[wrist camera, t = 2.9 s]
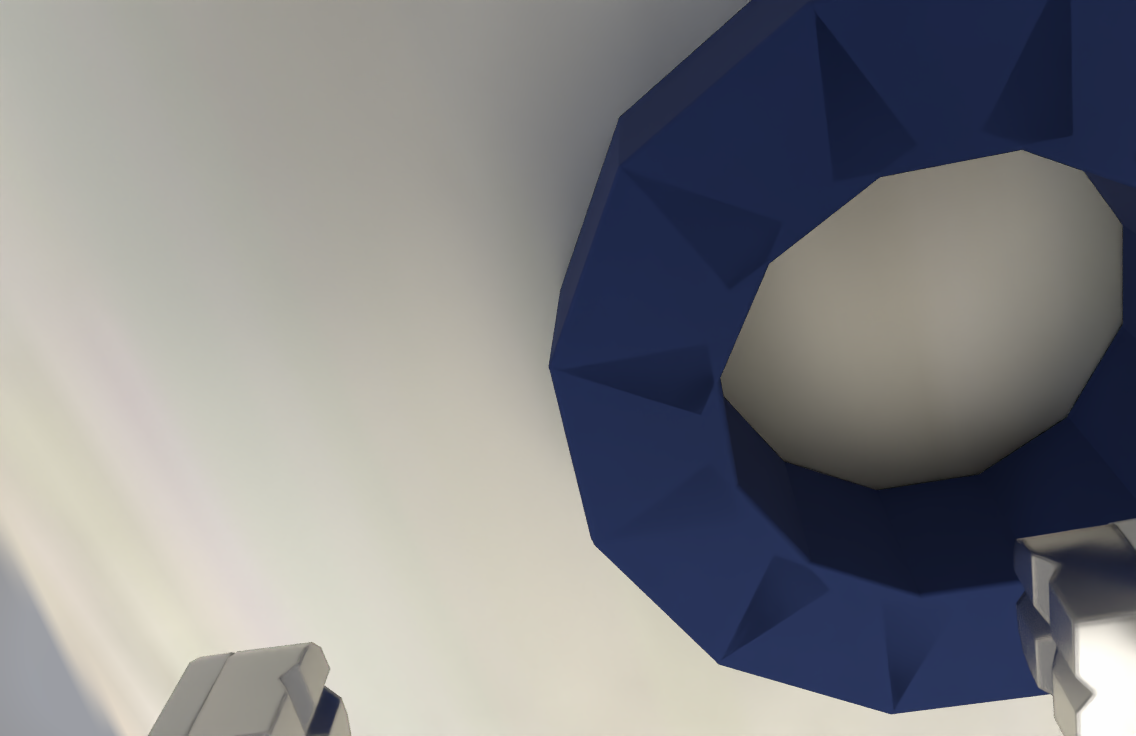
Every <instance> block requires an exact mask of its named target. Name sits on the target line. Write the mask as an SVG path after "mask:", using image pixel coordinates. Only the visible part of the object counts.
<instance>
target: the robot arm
mask: <svg viewBox="0 0 1136 736" xmlns="http://www.w3.org/2000/svg"><path fill="white" fill-rule="evenodd" d="M1013 560H1014V571H1015V573H1016V575H1017V577H1018V578H1019V580H1020V582H1021V584H1022V586H1023V587H1024V589H1025V591H1024V593H1023V594H1022V595H1021V597H1020V598H1019V600H1018V601H1017V602H1016V612H1017V623H1018V631H1019V635H1020V640H1021V644H1022V649H1023V653H1024V656H1025V658H1026V661H1027V664H1028V666H1029V669H1030V672H1031V674H1032V676H1033V678H1034V680H1035V682H1036V684H1037V686H1038V688H1040V689H1042V690H1044V691H1045V692H1047V693H1049V694H1051V695H1052V696H1053V708H1054V718H1055V720H1056V722H1057V724H1058V726H1059V728H1060V730H1061V731H1062V733H1063V735H1064V736H1136V518H1134V519H1128V520H1123V521H1117V522H1112V523H1109V524H1108V525H1101V526H1095V527H1089V528H1082V529H1076V530H1070V531H1063V532H1057V533H1051V534H1044V535H1038V536H1031V537H1025V538H1019V539H1015V543H1014V549H1013ZM329 671H330V667H329V665H328V662H327V660H326V658H325V655H324V653H323V651H322V648H321V647H320V646H318V645H316V644H314V643H313V642H309V643H301V644H293V645H285V646H277V647H269V648H261V649H253V650H245V651H238V652H236V653H232V652H230V653H224V654H217V655H210V656H203V657H199V658H197V659H195V660H193V661H192V662H190V663H189V665H188V666H187V668H186V670H185V672H184V673H183V675H182V677H181V679H180V680H179V682H178V684H177V686H176V687H175V689H174V691H173V693H172V694H171V696H170V698H169V700H168V701H167V703H166V705H165V707H164V708H163V710H162V712H161V714H160V715H159V717H158V719H157V721H156V722H155V724H154V726H153V728H152V729H151V731H150V733H149V735H148V736H351V731H350V725H349V720H348V714H347V712H346V709H345V706H344V703H343V701H342V698H341V697H340V696H338V695H337V694H335V693H334V692H333V691H331V690H330V689H329V688H327V687H326V686H324V685H325V682H326V679H327V676H328V674H329Z"/></svg>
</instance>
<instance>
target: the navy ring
mask: <svg viewBox="0 0 1136 736" xmlns="http://www.w3.org/2000/svg"><path fill="white" fill-rule="evenodd" d="M1018 150H1024V151H1027V152H1030V153H1033V154H1035V155H1038V156H1041V157H1044V158H1047V159H1050V160H1053V161H1056V162H1059V163H1062V164H1064V165H1067V166H1070V167H1073V168H1076V169H1079V170H1082V171H1084V172H1085V174H1086V175H1087V176H1088V178H1089V179H1090V180H1091V182H1092V183H1093V185H1094V186H1095V187H1096V189H1097V190H1098V192H1099V193H1100V194H1101V196H1102V197H1103V199H1104V200H1105V201H1106V203H1107V204H1108V205H1109V207H1110V208H1111V210H1112V211H1113V212H1114V214H1115V215H1116V217H1117V218H1118V219H1119V221H1120V222H1121V223H1122V225H1123V324H1122V326H1121V327H1120V329H1119V331H1118V332H1117V334H1116V336H1115V337H1114V339H1113V341H1112V342H1111V344H1110V346H1109V347H1108V349H1107V351H1106V352H1105V354H1104V356H1103V357H1102V359H1101V361H1100V362H1099V364H1098V366H1097V367H1096V369H1095V371H1094V372H1093V374H1092V376H1091V377H1090V379H1089V381H1088V382H1087V384H1086V386H1085V388H1084V389H1083V391H1082V393H1081V394H1080V396H1079V398H1078V399H1077V401H1076V403H1075V404H1074V406H1073V408H1072V409H1071V411H1070V413H1069V414H1068V416H1067V417H1066V418H1065V419H1063V420H1062V421H1060V422H1059V423H1057V424H1056V425H1054V426H1053V427H1051V428H1050V429H1048V430H1047V431H1045V432H1043V433H1042V434H1040V435H1039V436H1037V437H1036V438H1034V439H1033V440H1031V441H1030V442H1028V443H1027V444H1025V445H1023V446H1022V447H1020V448H1019V449H1017V450H1016V451H1014V452H1013V453H1011V454H1010V455H1008V456H1007V457H1005V458H1003V459H1002V460H1000V461H999V462H997V463H996V464H994V465H993V466H991V467H990V468H988V469H987V470H985V471H984V472H982V473H980V474H978V475H972V476H965V477H959V478H953V479H946V480H940V481H933V482H927V483H920V484H914V485H907V486H901V487H894V488H888V489H881V490H875V489H871V488H868V487H865V486H862V485H858V484H855V483H852V482H849V481H845V480H842V479H839V478H836V477H832V476H829V475H826V474H823V473H820V472H816V471H813V470H810V469H807V468H803V467H800V466H797V465H794V464H790V463H787V462H784V461H783V460H782V459H781V458H780V457H779V456H778V455H777V454H776V453H775V451H774V450H773V449H772V448H771V447H770V446H769V445H768V444H767V443H766V442H765V441H764V440H763V439H762V437H761V436H760V435H759V434H758V433H757V432H756V431H755V430H754V429H753V428H752V427H751V426H750V425H749V424H748V422H747V421H746V420H745V419H744V418H743V417H742V416H741V415H740V414H739V413H738V412H737V411H736V410H735V408H734V407H733V406H732V405H731V404H730V403H729V402H728V401H727V400H726V399H725V398H724V397H723V391H722V385H721V379H720V377H721V375H722V373H723V370H724V368H725V366H726V363H727V361H728V359H729V356H730V354H731V352H732V349H733V347H734V345H735V342H736V340H737V338H738V335H739V333H740V331H741V328H742V326H743V324H744V321H745V319H746V317H747V314H748V312H749V310H750V307H751V305H752V303H753V300H754V298H755V296H756V293H757V291H758V289H759V286H760V284H761V282H762V279H763V277H764V275H765V272H766V270H767V268H768V265H769V263H771V262H772V261H773V260H775V259H776V258H777V257H778V256H780V255H781V254H782V253H784V252H785V251H786V250H787V249H789V248H790V247H791V246H793V245H794V244H795V243H796V242H798V241H799V240H800V239H801V238H803V237H804V236H805V235H807V234H808V233H809V232H810V231H812V230H813V229H814V228H816V227H817V226H818V225H819V224H821V223H822V222H823V221H825V220H826V219H827V218H828V217H830V216H831V215H832V214H833V213H835V212H836V211H837V210H839V209H840V208H841V207H842V206H844V205H845V204H846V203H848V202H849V201H850V200H851V199H853V198H854V197H855V196H857V195H858V194H859V193H860V192H862V191H863V190H864V189H865V188H867V187H868V186H869V185H871V184H872V183H873V182H874V181H876V180H877V179H878V178H880V177H883V176H889V175H894V174H899V173H904V172H909V171H915V170H920V169H925V168H930V167H935V166H941V165H946V164H951V163H956V162H961V161H966V160H972V159H977V158H982V157H987V156H992V155H998V154H1003V153H1008V152H1013V151H1018ZM549 369H550V373H551V377H552V381H553V385H554V389H555V393H556V398H557V402H558V406H559V410H560V414H561V418H562V422H563V426H564V430H565V434H566V438H567V442H568V446H569V450H570V455H571V459H572V463H573V467H574V471H575V475H576V479H577V483H578V487H579V491H580V495H581V499H582V503H583V507H584V512H585V516H586V520H587V524H588V528H589V532H590V536H591V539H592V541H593V543H594V545H595V546H596V547H597V548H598V549H599V550H600V551H601V552H602V553H603V554H604V555H606V556H607V557H608V558H609V559H610V560H611V561H612V562H613V563H614V564H615V565H616V566H617V567H618V568H619V569H620V570H621V571H622V572H623V573H624V574H625V575H626V576H627V577H628V578H629V579H631V580H632V581H633V582H634V583H635V584H636V585H637V586H638V587H639V588H640V589H641V590H642V591H643V592H644V593H645V594H646V595H647V596H648V597H649V598H650V599H651V600H652V601H653V602H655V603H656V604H657V605H658V606H659V607H660V608H661V609H662V610H663V611H664V612H665V613H666V614H667V615H668V616H669V617H670V618H671V619H672V620H673V621H674V622H675V623H676V624H677V625H678V626H680V627H681V628H682V629H683V630H684V631H685V632H686V633H687V634H688V635H689V636H690V637H691V638H692V639H693V640H694V641H695V642H696V643H697V644H698V645H699V646H700V647H701V648H702V649H703V650H705V651H706V652H707V653H708V654H709V655H710V656H711V657H712V658H713V659H714V660H715V661H716V662H717V663H718V664H719V665H723V666H726V667H730V668H733V669H736V670H740V671H743V672H747V673H750V674H754V675H757V676H761V677H764V678H768V679H771V680H775V681H778V682H781V683H785V684H788V685H792V686H795V687H799V688H802V689H806V690H809V691H813V692H816V693H819V694H823V695H826V696H830V697H833V698H837V699H840V700H844V701H847V702H851V703H854V704H857V705H861V706H864V707H868V708H871V709H875V710H878V711H882V712H885V713H889V714H897V713H905V712H913V711H920V710H928V709H936V708H944V707H952V706H960V705H968V704H976V703H984V702H992V701H1000V700H1008V699H1016V698H1023V697H1031V696H1039V695H1047V694H1049V693H1047V692H1045V691H1044V690H1042V689H1040V688H1038V686H1037V684H1036V682H1035V680H1034V678H1033V676H1032V674H1031V672H1030V669H1029V666H1028V664H1027V661H1026V658H1025V656H1024V653H1023V649H1022V644H1021V640H1020V635H1019V631H1018V623H1017V612H1016V602H1017V601H1018V600H1019V598H1020V597H1021V595H1022V594H1023V593H1024V591H1025V589H1024V587H1023V586H1022V584H1021V582H1020V580H1019V578H1018V577H1017V575H1016V573H1015V571H1014V560H1013V549H1014V543H1015V539H1019V538H1025V537H1031V536H1038V535H1044V534H1051V533H1057V532H1063V531H1070V530H1076V529H1082V528H1089V527H1095V526H1101V525H1108V524H1109V523H1112V522H1117V521H1123V520H1128V519H1134V518H1136V0H751V1H750V2H749V3H748V4H747V5H746V6H745V7H743V8H742V9H741V10H740V11H739V12H738V13H737V14H735V15H734V16H733V17H732V18H731V19H730V20H729V21H728V22H726V23H725V24H724V25H723V26H722V27H721V28H720V29H719V30H717V31H716V32H715V33H714V34H713V35H712V36H711V37H710V38H708V39H707V40H706V41H705V42H704V43H703V44H702V45H701V46H699V47H698V48H697V49H696V50H695V51H694V52H693V53H691V54H690V55H689V56H688V57H687V58H686V59H685V60H684V61H682V62H681V63H680V64H679V65H678V66H677V67H676V68H675V69H673V70H672V71H671V72H670V73H669V74H668V75H667V76H666V77H664V78H663V79H662V80H661V81H660V82H659V83H658V84H656V85H655V86H654V87H653V88H652V89H651V90H650V91H649V92H647V93H646V94H645V95H644V96H643V97H642V98H641V99H640V100H638V101H637V102H636V103H635V104H634V105H633V106H632V107H631V108H629V109H628V110H627V111H626V112H625V113H624V114H623V115H621V116H620V117H619V119H618V122H617V125H616V128H615V131H614V134H613V137H612V140H611V143H610V146H609V149H608V152H607V155H606V158H605V161H604V163H603V166H602V169H601V172H600V175H599V178H598V181H597V184H596V187H595V190H594V193H593V196H592V199H591V202H590V205H589V208H588V210H587V213H586V216H585V219H584V222H583V225H582V228H581V231H580V234H579V237H578V240H577V243H576V246H575V249H574V252H573V255H572V257H571V260H570V263H569V266H568V269H567V272H566V275H565V278H564V281H563V284H562V287H561V290H560V296H559V302H558V309H557V315H556V322H555V328H554V335H553V341H552V348H551V354H550V361H549Z"/></svg>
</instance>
